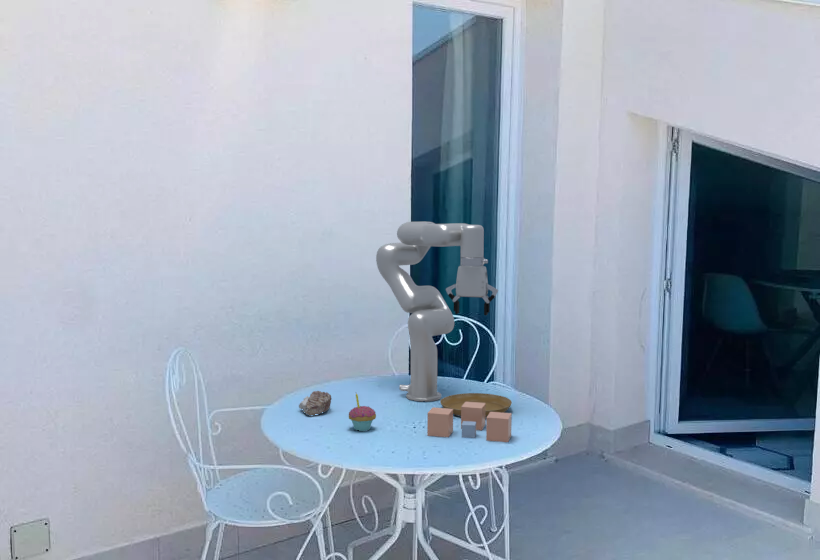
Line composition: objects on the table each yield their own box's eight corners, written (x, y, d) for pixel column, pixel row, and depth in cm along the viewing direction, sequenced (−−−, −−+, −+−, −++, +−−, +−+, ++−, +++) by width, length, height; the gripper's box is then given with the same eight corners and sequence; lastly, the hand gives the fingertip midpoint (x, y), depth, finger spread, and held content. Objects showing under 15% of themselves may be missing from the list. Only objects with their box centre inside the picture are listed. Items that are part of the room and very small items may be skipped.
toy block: (465, 423, 252) (465, 401, 251) (485, 424, 250) (485, 403, 250) (461, 428, 246) (461, 406, 245) (481, 430, 244) (481, 408, 243)
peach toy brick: (427, 435, 239) (427, 412, 238) (432, 429, 245) (432, 407, 244) (448, 437, 237) (448, 414, 236) (453, 431, 243) (453, 408, 243)
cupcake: (355, 434, 240) (354, 395, 239) (344, 427, 247) (343, 389, 246) (380, 430, 244) (380, 392, 243) (369, 423, 251) (368, 386, 250)
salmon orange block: (486, 440, 234) (486, 417, 233) (490, 434, 240) (490, 411, 240) (508, 442, 232) (508, 419, 232) (511, 435, 239) (511, 413, 238)
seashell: (301, 397, 273) (315, 374, 270) (325, 410, 274) (339, 388, 271) (293, 416, 259) (308, 392, 257) (318, 430, 260) (333, 407, 258)
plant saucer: (430, 404, 275) (430, 395, 275) (492, 399, 283) (493, 390, 282) (456, 423, 252) (456, 413, 252) (524, 416, 260) (524, 407, 260)
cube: (461, 437, 237) (461, 424, 237) (463, 433, 241) (463, 421, 241) (474, 438, 236) (475, 425, 236) (476, 434, 240) (476, 421, 240)
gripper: (500, 262, 260) (499, 313, 262) (448, 260, 264) (448, 311, 266) (496, 264, 253) (495, 317, 254) (443, 262, 257) (443, 314, 259)
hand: (471, 314), depth 260 cm, fingers open, 9 cm apart
